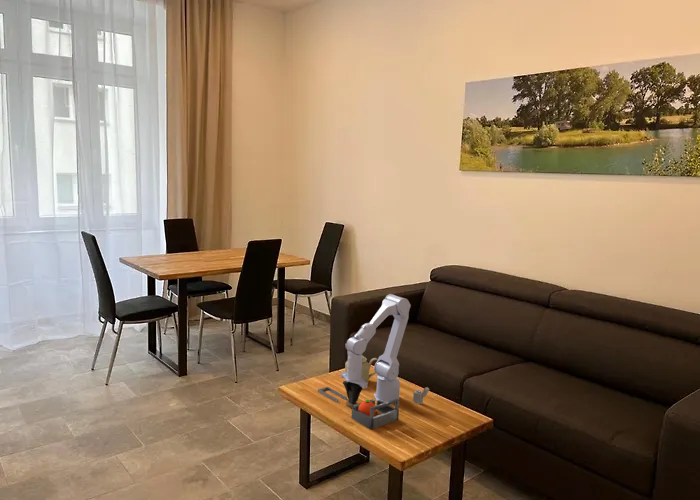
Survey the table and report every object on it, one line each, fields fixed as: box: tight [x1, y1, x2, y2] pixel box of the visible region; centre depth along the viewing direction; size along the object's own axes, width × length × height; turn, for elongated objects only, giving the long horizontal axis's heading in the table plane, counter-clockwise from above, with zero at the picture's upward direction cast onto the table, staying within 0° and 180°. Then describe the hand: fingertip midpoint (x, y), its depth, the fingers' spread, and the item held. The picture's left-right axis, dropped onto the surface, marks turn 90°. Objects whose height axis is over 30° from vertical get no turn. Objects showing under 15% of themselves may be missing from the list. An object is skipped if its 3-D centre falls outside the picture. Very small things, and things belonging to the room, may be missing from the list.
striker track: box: [317, 386, 348, 403], centre depth 230 cm, size 13×5×1 cm, turn 40°
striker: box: [345, 390, 376, 409], centre depth 217 cm, size 10×10×6 cm
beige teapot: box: [344, 355, 378, 384], centre depth 247 cm, size 15×11×15 cm
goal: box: [350, 398, 401, 430], centre depth 209 cm, size 11×15×8 cm
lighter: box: [412, 386, 430, 405], centre depth 226 cm, size 7×2×8 cm, turn 42°
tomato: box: [358, 399, 377, 416], centre depth 210 cm, size 8×7×7 cm
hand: (352, 399), depth 220 cm, fingers open, 2 cm apart
